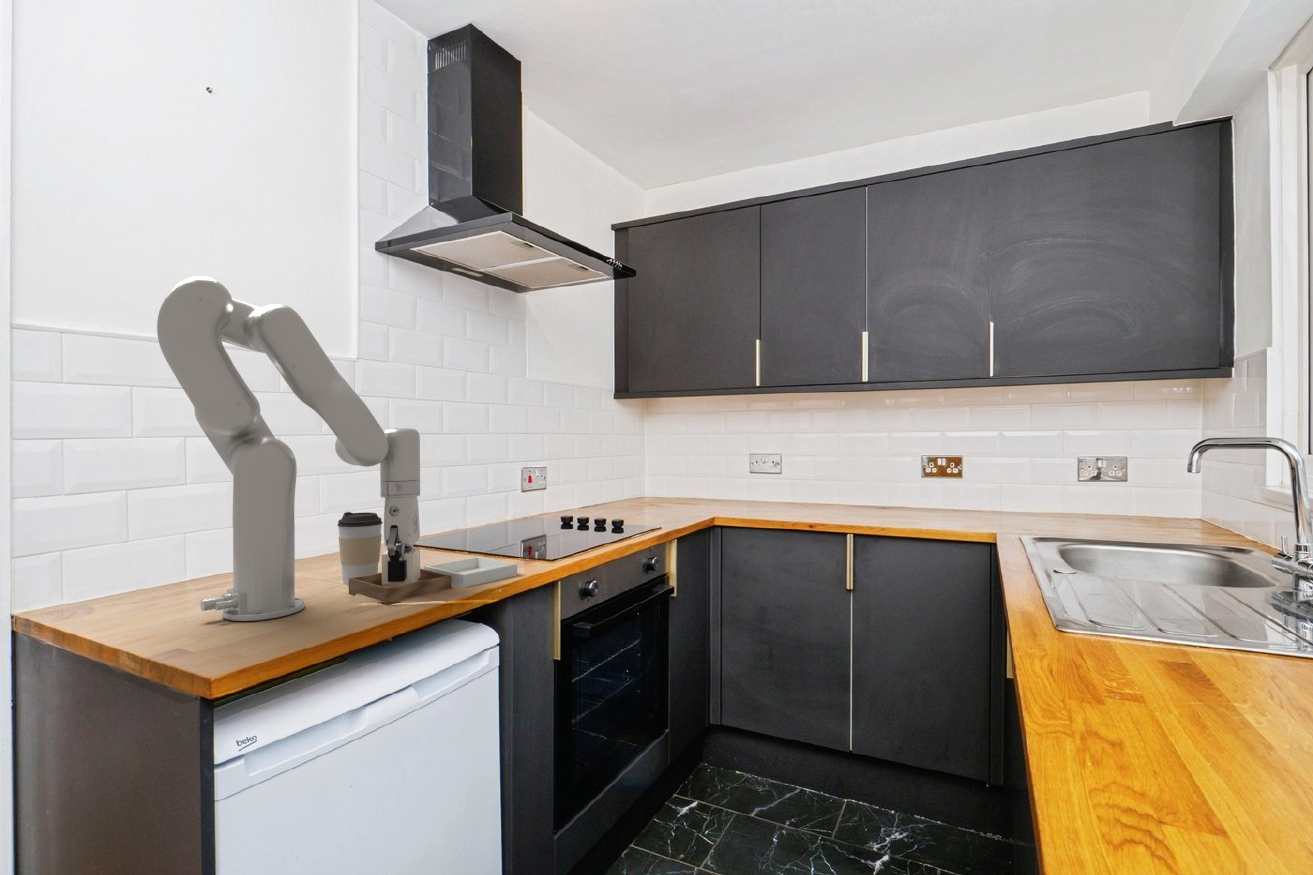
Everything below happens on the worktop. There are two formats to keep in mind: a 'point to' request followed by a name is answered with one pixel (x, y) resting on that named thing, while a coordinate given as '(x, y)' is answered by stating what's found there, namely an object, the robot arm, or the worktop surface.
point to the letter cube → (410, 566)
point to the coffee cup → (359, 544)
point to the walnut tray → (398, 586)
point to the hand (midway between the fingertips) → (401, 576)
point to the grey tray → (474, 570)
